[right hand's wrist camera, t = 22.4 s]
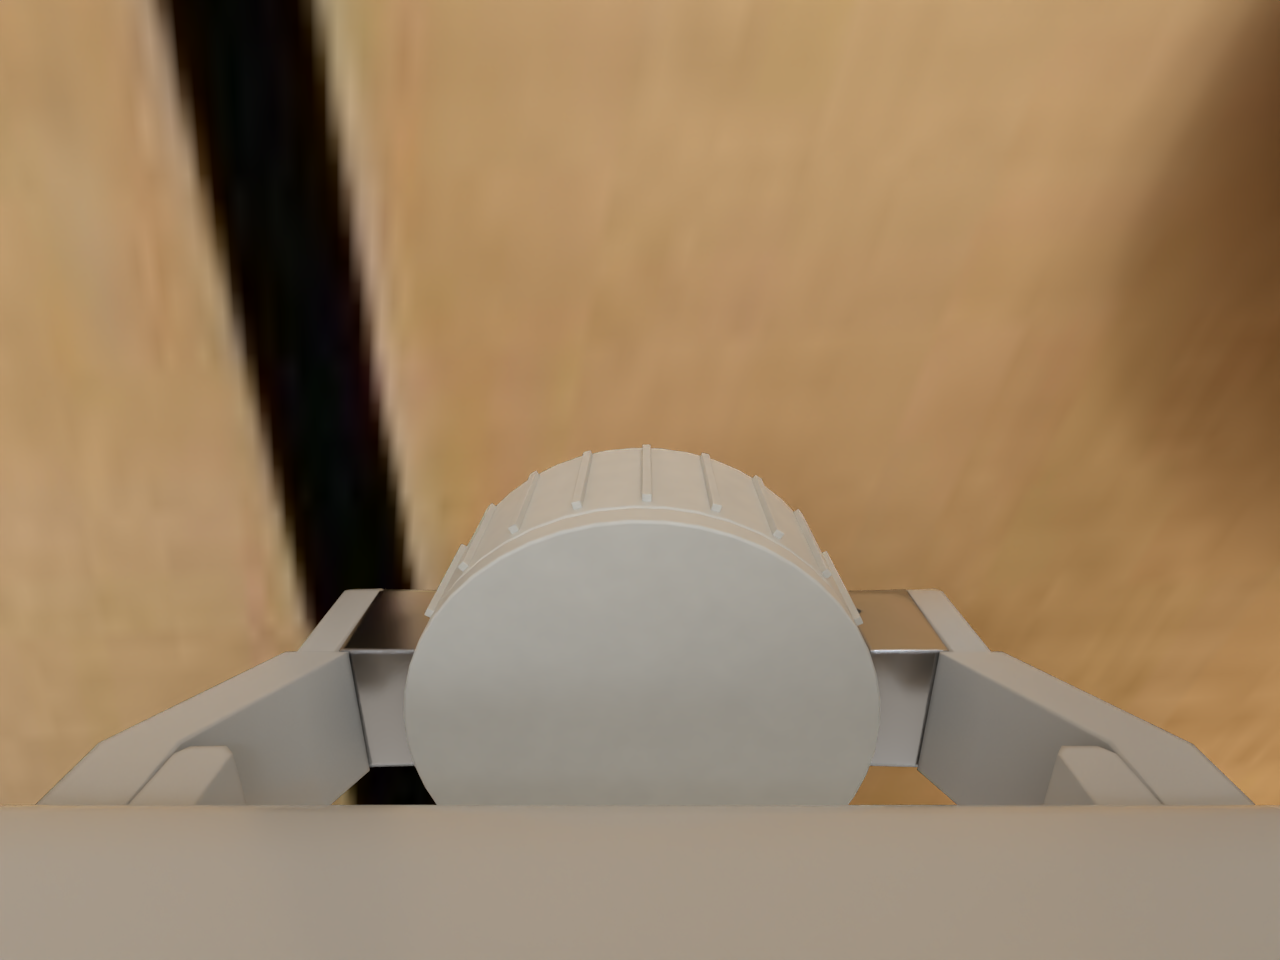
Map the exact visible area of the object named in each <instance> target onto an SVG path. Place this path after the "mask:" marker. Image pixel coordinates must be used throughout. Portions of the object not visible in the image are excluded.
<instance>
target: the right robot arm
mask: <svg viewBox="0 0 1280 960" xmlns="http://www.w3.org/2000/svg"><path fill="white" fill-rule="evenodd" d="M436 591H437V590H395V589H385V590H383V589H351V590H346V591H344V592H343V593H342V595H341V596H340V597H339V598H338V600H337V601H336V602H335V604H334V605H333V606H332V607H331V609H330V610H329V611H328V612H327V614H326V615H325V616H324V618H323V619H322V620H321V621H320V623H319V624H318V625H317V626H316V628H315V629H314V630H313V631H312V633H311V634H310V635H309V637H308V638H307V639H306V640H305V642H304V643H303V644H302V645H301V647H300V648H299V649H298V651H297V652H284V653H282V654H280V655H278V656H276V657H274V658H272V659H270V660H267V661H265V662H263V663H261V664H259V665H257V666H255V667H253V668H251V669H249V670H247V671H245V672H243V673H241V674H239V675H237V676H235V677H233V678H231V679H229V680H226V681H224V682H222V683H220V684H218V685H216V686H214V687H212V688H210V689H208V690H206V691H204V692H202V693H200V694H198V695H196V696H194V697H192V698H190V699H188V700H185V701H183V702H181V703H179V704H177V705H175V706H173V707H171V708H169V709H167V710H165V711H163V712H161V713H159V714H157V715H155V716H153V717H151V718H149V719H147V720H144V721H142V722H140V723H138V724H136V725H134V726H132V727H130V728H128V729H126V730H124V731H122V732H120V733H118V734H116V735H114V736H112V737H110V738H108V739H106V740H103V741H101V742H99V743H98V744H97V745H96V746H95V747H94V748H93V749H92V750H91V751H90V752H89V753H88V754H87V755H86V756H85V757H84V758H83V759H82V760H81V761H80V762H78V763H77V764H76V765H75V766H74V767H73V768H72V769H71V770H70V771H69V772H68V773H67V774H66V775H65V776H64V777H63V778H62V779H61V780H60V781H59V782H58V783H57V784H56V785H55V786H54V787H53V788H52V789H51V790H50V791H49V792H48V793H47V794H46V795H45V796H44V797H43V798H42V799H41V800H40V801H39V802H38V803H37V804H36V805H0V960H1280V805H1255V804H1254V803H1253V802H1252V801H1251V800H1250V799H1249V798H1248V797H1247V796H1246V795H1245V794H1244V793H1243V792H1242V791H1241V790H1240V789H1239V788H1238V787H1237V786H1236V785H1235V784H1234V783H1233V782H1231V781H1230V780H1229V779H1228V778H1227V777H1226V776H1225V775H1224V774H1223V773H1222V772H1221V771H1220V770H1219V769H1218V768H1217V767H1216V766H1215V765H1214V764H1213V763H1212V762H1211V761H1210V760H1209V759H1208V758H1207V757H1206V756H1205V755H1204V754H1203V753H1202V752H1200V751H1199V750H1198V749H1197V748H1196V747H1195V746H1194V745H1193V744H1192V743H1190V742H1188V741H1186V740H1183V739H1181V738H1179V737H1177V736H1175V735H1173V734H1171V733H1169V732H1167V731H1165V730H1163V729H1161V728H1159V727H1157V726H1155V725H1153V724H1150V723H1148V722H1146V721H1144V720H1142V719H1140V718H1138V717H1136V716H1134V715H1132V714H1130V713H1128V712H1126V711H1124V710H1122V709H1120V708H1117V707H1115V706H1113V705H1111V704H1109V703H1107V702H1105V701H1103V700H1101V699H1099V698H1097V697H1095V696H1093V695H1091V694H1089V693H1086V692H1084V691H1082V690H1080V689H1078V688H1076V687H1074V686H1072V685H1070V684H1068V683H1066V682H1064V681H1062V680H1060V679H1058V678H1056V677H1053V676H1051V675H1049V674H1047V673H1045V672H1043V671H1041V670H1039V669H1037V668H1035V667H1033V666H1031V665H1029V664H1027V663H1025V662H1022V661H1020V660H1018V659H1016V658H1014V657H1012V656H1010V655H1008V654H1006V653H1004V652H991V651H990V650H989V648H988V647H987V646H986V645H985V644H984V642H983V641H982V640H981V639H980V637H979V636H978V635H977V634H976V632H975V631H974V630H973V629H972V627H971V626H970V625H969V624H968V622H967V621H966V620H965V619H964V618H963V616H962V615H961V614H960V613H959V611H958V610H957V609H956V608H955V606H954V605H953V604H952V603H951V601H950V600H949V599H948V598H947V596H946V595H945V594H944V593H943V592H942V591H940V590H938V589H911V590H864V591H848V593H849V595H850V597H851V599H852V601H853V603H854V605H855V607H856V609H857V611H858V613H859V615H860V617H861V619H862V621H863V624H861V625H858V626H857V627H858V629H859V631H860V633H861V635H862V637H863V639H864V641H865V643H866V645H867V647H868V649H869V652H870V655H871V658H872V661H873V664H874V667H875V671H876V674H877V679H878V686H879V693H880V700H881V701H880V727H879V733H878V738H877V743H876V748H875V752H874V755H873V758H872V761H871V763H870V766H898V767H918V768H917V770H918V771H919V772H920V773H921V774H923V775H924V776H925V777H926V778H927V779H928V780H929V781H931V782H932V783H933V784H934V785H935V786H936V787H937V788H939V789H940V790H941V791H942V792H943V793H944V794H946V795H947V796H948V797H949V798H950V799H951V800H952V801H954V802H955V803H956V804H957V805H331V804H332V803H333V802H334V801H335V800H337V799H338V798H339V797H340V796H341V795H342V794H343V793H345V792H346V791H347V790H348V789H349V788H350V787H351V786H353V785H354V784H355V783H356V782H357V781H358V780H359V779H360V778H362V777H363V776H364V775H365V774H366V773H367V772H368V771H370V769H369V767H389V766H415V765H414V762H413V759H412V755H411V752H410V749H409V746H408V742H407V736H406V729H405V721H404V690H405V685H406V680H407V674H408V669H409V665H410V662H411V659H412V657H413V654H414V652H415V649H416V646H417V644H418V641H419V639H420V637H421V635H422V633H423V631H424V629H425V627H426V625H427V624H428V621H429V619H430V617H428V616H425V615H424V614H425V612H426V610H427V608H428V606H429V604H430V602H431V600H432V598H433V597H434V595H435V593H436Z"/></svg>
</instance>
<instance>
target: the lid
mask: <svg viewBox="0 0 1280 960" xmlns="http://www.w3.org/2000/svg"><path fill="white" fill-rule="evenodd" d="M424 615H425V616H428V617H430V619H429V621H428V624H427V625H426V627H425V629H424V631H423V633H422V635H421V637H420V639H419V641H418V644H417V646H416V649H415V652H414V654H413V657H412V659H411V662H410V665H409V669H408V674H407V680H406V685H405V690H404V721H405V729H406V736H407V742H408V746H409V749H410V752H411V755H412V759H413V762H414V765H415V767H416V769H417V771H418V773H419V776H420V778H421V780H422V782H423V784H424V786H425V788H426V789H427V791H428V792H429V794H430V795H431V797H432V798H433V800H434V801H435V803H436V804H437V805H848V804H849V803H850V802H851V800H852V799H853V798H854V796H855V794H856V793H857V791H858V789H859V787H860V785H861V783H862V782H863V780H864V778H865V776H866V774H867V772H868V769H869V766H870V763H871V761H872V758H873V755H874V752H875V748H876V743H877V738H878V733H879V727H880V701H881V700H880V693H879V686H878V679H877V674H876V671H875V667H874V664H873V661H872V658H871V655H870V652H869V649H868V647H867V645H866V643H865V641H864V639H863V637H862V635H861V633H860V631H859V629H858V627H857V626H858V625H861V624H863V621H862V619H861V617H860V615H859V613H858V611H857V609H856V607H855V605H854V603H853V601H852V599H851V597H850V595H849V593H848V591H847V589H846V587H845V585H844V583H843V582H842V580H841V578H840V576H839V574H838V572H837V570H836V568H835V566H834V564H833V562H832V560H831V558H830V556H829V554H828V552H827V551H825V552H823V553H822V552H821V550H820V548H819V546H818V544H817V542H816V540H815V538H814V536H813V534H812V532H811V530H810V528H809V526H808V524H807V522H806V520H805V518H804V516H803V514H802V513H801V511H800V510H799V509H797V510H796V511H793V510H792V509H791V508H790V507H789V506H788V505H787V504H786V503H785V502H784V501H783V500H782V499H781V498H780V497H778V496H777V495H776V494H775V493H773V492H772V491H771V490H769V489H768V488H767V487H766V486H764V483H763V481H762V479H761V478H760V477H758V476H757V475H755V476H754V477H753V478H752V477H750V476H748V475H746V474H745V473H743V472H741V471H740V470H738V469H735V468H733V467H730V466H728V465H726V464H723V463H721V462H719V461H716V460H713V459H710V455H709V454H706V453H701V456H699V455H695V454H692V453H688V452H682V451H675V450H668V449H661V448H651V445H642V448H627V449H617V450H607V451H602V452H598V453H593V454H592V452H591V450H590V451H586V452H583V456H580V457H577V458H574V459H572V460H569V461H566V462H563V463H561V464H558V465H555V466H553V467H551V468H549V469H547V470H545V471H543V472H541V473H540V474H538V472H537V471H534V472H533V473H531V474H530V475H529V478H528V480H527V481H526V482H524V483H523V484H522V485H520V486H519V487H517V488H516V489H515V490H513V491H512V492H510V493H509V494H508V495H507V496H506V497H505V498H504V499H503V500H502V501H501V502H500V503H499V504H498V505H496V506H495V505H494V504H493V503H491V504H490V505H489V506H488V507H487V509H486V511H485V513H484V515H483V517H482V519H481V521H480V523H479V525H478V527H477V529H476V531H475V533H474V535H473V536H472V538H471V540H470V542H469V543H468V545H467V546H465V545H463V544H461V545H460V547H459V549H458V551H457V553H456V555H455V557H454V559H453V561H452V562H451V564H450V566H449V568H448V570H447V572H446V574H445V576H444V578H443V579H442V581H441V583H440V585H439V587H438V589H437V591H436V593H435V595H434V597H433V598H432V600H431V602H430V604H429V606H428V608H427V610H426V612H425V614H424Z"/></svg>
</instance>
